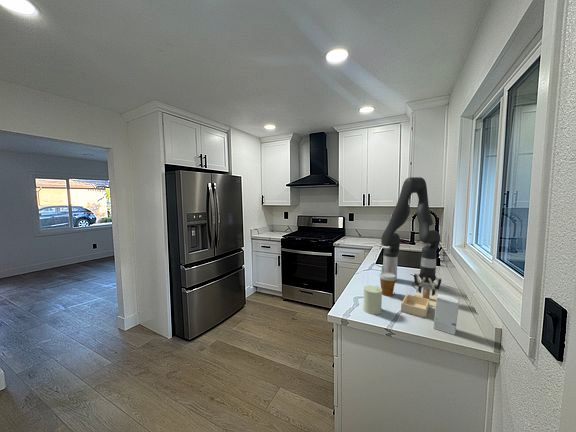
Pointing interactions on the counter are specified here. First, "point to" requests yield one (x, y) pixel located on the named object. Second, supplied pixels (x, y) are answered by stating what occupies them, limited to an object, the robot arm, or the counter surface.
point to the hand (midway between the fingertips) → (426, 293)
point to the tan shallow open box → (415, 305)
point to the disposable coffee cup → (387, 283)
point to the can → (372, 299)
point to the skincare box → (446, 313)
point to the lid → (428, 296)
